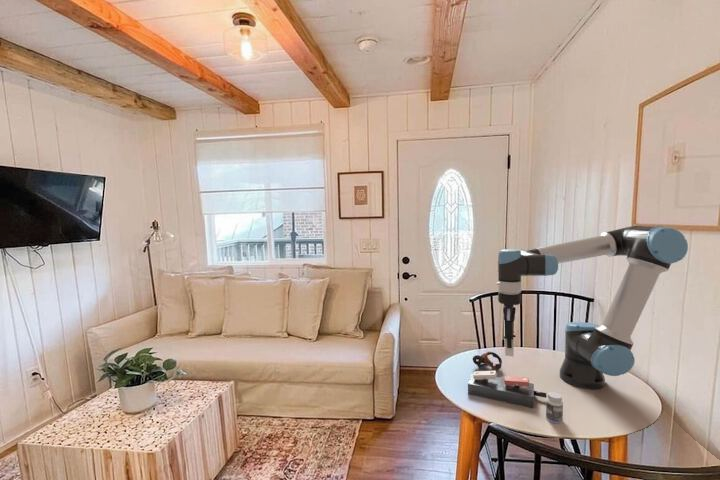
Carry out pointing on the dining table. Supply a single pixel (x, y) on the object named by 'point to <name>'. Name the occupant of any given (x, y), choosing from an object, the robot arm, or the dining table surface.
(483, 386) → the rocker switch panel
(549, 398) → the pill bottle
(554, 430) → the dining table surface
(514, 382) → the rocker
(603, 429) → the dining table surface
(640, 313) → the robot arm
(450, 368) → the dining table surface
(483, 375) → the rocker
